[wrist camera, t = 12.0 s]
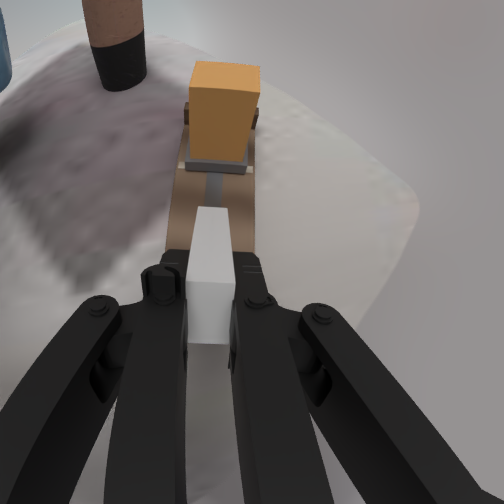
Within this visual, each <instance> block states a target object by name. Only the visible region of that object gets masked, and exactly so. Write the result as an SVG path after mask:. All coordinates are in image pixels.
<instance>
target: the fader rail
mask: <svg viewBox="0 0 504 504" xmlns="http://www.w3.org/2000/svg"><path fill="white" fill-rule="evenodd" d="M258 116H259V108H256V110H255V114H254V118H253V122H252V126H251V130H250V134H249V138H248V166H247V170H246V173H245V174H238V173H226V172H211V171H192V170H185V156H186V150H187V144H188V139H189V102H186V103H185V107H184V124H185V125H184V129H183V134H182V139H181V145H180V150H179V155H178V161H177V167H176V173H175V179H174V185H173V192H172V199H171V206H170V213H169V221H168V230H167V239H166V248H165V252H166V251H167V250H169V249H182V250H190V249H191V243H192V237H193V232H194V226H195V221H196V215H197V210H198V206H201V207H219V208H227V209H228V219H229V228H230V238H231V247H232V251H238V252H253V253H254V247H255V126H256V123H257V119H258Z"/></svg>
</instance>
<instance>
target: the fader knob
mask: <svg viewBox="0 0 504 504" xmlns="http://www.w3.org/2000/svg"><path fill="white" fill-rule="evenodd" d="M259 95H260V67H259V66H252V65H243V64H234V63H223V62H207V61H196V63H195V67H194V70H193V74H192V77H191V81H190V84H189V139H188V144H187V150H186V156H185V170H192V171H211V172H226V173H238V174H245V173H246V170H247V166H248V138H249V134H250V130H251V126H252V122H253V118H254V114H255V110H256V107H257V103H258V99H259Z"/></svg>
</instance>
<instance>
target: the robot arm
mask: <svg viewBox="0 0 504 504" xmlns="http://www.w3.org/2000/svg"><path fill="white" fill-rule="evenodd" d="M11 77H12V65H11V58H10V53H9V47H8V41H7V35H6V30H5V24H4V19H3V15H2V12H1V8H0V93H1V92H2V91H3V90H4V89H5V88H6V87H7V86H8V84H9V83H10V80H11ZM141 282H142V290H143V300H142V301H140V302H137V303H134V304H129V305H122V306H119V304H118V302H117V301H116V299H115V298H113V297H111V296H107V295H98V296H93V297H91V298H88V299H87V300H86V301H84V302H83V303H82V304H81V305H80V306H79V308H78V309H77V310H76V311H75V312H74V313H73V315H72V316H71V317H70V318H69V319H68V320H67V322H66V323H65V324H64V325H63V326H62V328H61V329H60V330H59V331H58V332H57V334H56V335H55V336H54V337H53V339H52V340H51V341H50V342H49V344H48V345H47V346H46V347H45V349H44V350H43V351H42V353H41V354H40V355H39V357H38V358H37V359H36V360H35V362H34V363H33V365H32V366H31V367H30V369H29V370H28V371H27V373H26V374H25V376H24V377H23V378H22V380H21V381H20V383H19V384H18V386H17V387H16V388H15V390H14V391H13V393H12V394H11V396H10V397H9V399H8V401H7V402H6V404H5V405H4V407H3V408H2V410H1V412H0V504H69V502H70V499H71V497H72V494H73V492H74V489H75V487H76V485H77V482H78V480H79V477H80V475H81V473H82V470H83V468H84V466H85V464H86V461H87V459H88V457H89V455H90V452H91V450H92V448H93V446H94V444H95V441H96V439H97V437H98V435H99V433H100V431H101V429H102V427H103V425H104V422H105V420H106V418H107V416H108V414H109V412H110V410H111V408H112V406H113V404H114V402H115V400H116V398H117V403H116V408H115V413H114V419H113V424H112V430H111V437H110V444H109V451H108V459H107V467H106V477H105V488H104V503H103V504H187V499H186V471H185V410H186V379H187V358H188V351H187V341H188V343H202V344H229V341H230V354H229V364H228V369H230V370H231V382H232V394H233V405H234V415H235V425H236V435H237V445H238V454H239V463H240V470H241V479H242V487H243V495H244V503H245V504H334V500H333V497H332V493H331V489H330V486H329V482H328V478H327V475H326V471H325V467H324V464H323V460H322V457H321V453H320V449H319V446H318V442H317V439H316V435H315V431H314V428H313V424H312V421H311V417H310V414H311V416H312V418H313V419H314V421H315V423H316V424H317V426H318V428H319V429H320V431H321V433H322V434H323V436H324V437H325V439H326V441H327V442H328V444H329V446H330V447H331V449H332V451H333V452H334V454H335V456H336V457H337V459H338V460H339V462H340V464H341V465H342V467H343V468H344V470H345V472H346V473H347V475H348V476H349V478H350V479H351V481H352V482H353V484H354V486H355V487H356V489H357V490H358V492H359V493H360V495H361V496H362V498H363V500H364V501H365V503H366V504H504V501H503V500H501V499H499V498H497V497H495V496H493V495H491V494H489V493H488V492H485V491H484V490H481V488H480V487H479V485H478V484H477V483H476V481H475V480H474V479H473V477H472V476H471V475H470V473H469V472H468V470H467V469H466V468H465V466H464V465H463V464H462V462H461V461H460V460H459V458H458V457H457V456H456V454H455V453H454V452H453V451H452V449H451V448H450V447H449V445H448V444H447V443H446V441H445V440H444V439H443V438H442V436H441V435H440V434H439V432H438V431H437V430H436V429H435V427H434V426H433V425H432V424H431V422H430V421H429V420H428V419H427V417H426V416H425V415H424V414H423V412H422V411H421V410H420V409H419V407H418V406H417V405H416V404H415V402H414V401H413V400H412V399H411V397H410V396H409V395H408V394H407V393H406V391H405V390H404V389H403V388H402V386H401V385H400V384H399V383H398V382H397V380H396V379H395V378H394V377H393V376H392V375H391V373H390V372H389V371H388V370H387V368H386V367H385V366H384V365H383V364H382V362H381V361H380V360H379V359H378V358H377V357H376V355H375V354H374V353H373V352H372V350H371V349H369V347H368V346H367V345H366V343H365V342H364V341H363V340H362V339H361V338H360V336H359V335H358V334H357V333H356V332H355V331H354V329H353V328H352V327H351V326H350V325H349V324H348V322H347V321H346V320H345V319H344V318H343V317H342V316H341V314H340V313H339V312H338V311H337V310H335V309H334V308H333V307H331V306H328V305H326V304H321V303H311V304H309V305H306V306H305V307H304V308H303V310H302V312H297V311H293V310H289V309H285V308H283V307H281V306H279V305H278V303H277V301H276V299H275V298H274V297H273V296H272V295H271V294H269V293H268V290H267V286H266V283H265V279H264V275H263V273H262V268H261V264H260V261H259V258H258V257H257V256H256V255H255V254H254V253H253V252H238V251H232V247H231V238H230V228H229V219H228V209H227V208H219V207H201V206H198V210H197V215H196V221H195V226H194V232H193V237H192V243H191V249H190V250H182V249H169V250H167V251H166V252H165V253H164V254H163V255H162V258H161V261H160V264H157V265H153V266H150V267H148V268H147V269H145V270H144V271H143V272H142V273H141ZM117 396H118V397H117ZM309 412H310V414H309Z"/></svg>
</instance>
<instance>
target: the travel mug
mask: <svg viewBox="0 0 504 504" xmlns="http://www.w3.org/2000/svg"><path fill="white" fill-rule="evenodd" d="M82 5H83V11H84V17H85V22H86V28H87V33H88V37H89V42H90V46H91V49H92V53H93V56H94V60H95V63H96V66H97V69H98V73H99V76H100V79H101V82H102V84H103V87H104V88H105V89H106V90H108V91H122V90H126V89H129V88H131V87H133V86H135V85H137V84H138V83H140V82H141V81H142V80H143V79H144V78H145V76H146V56H145V39H144V21H143V9H142V0H82Z"/></svg>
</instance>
